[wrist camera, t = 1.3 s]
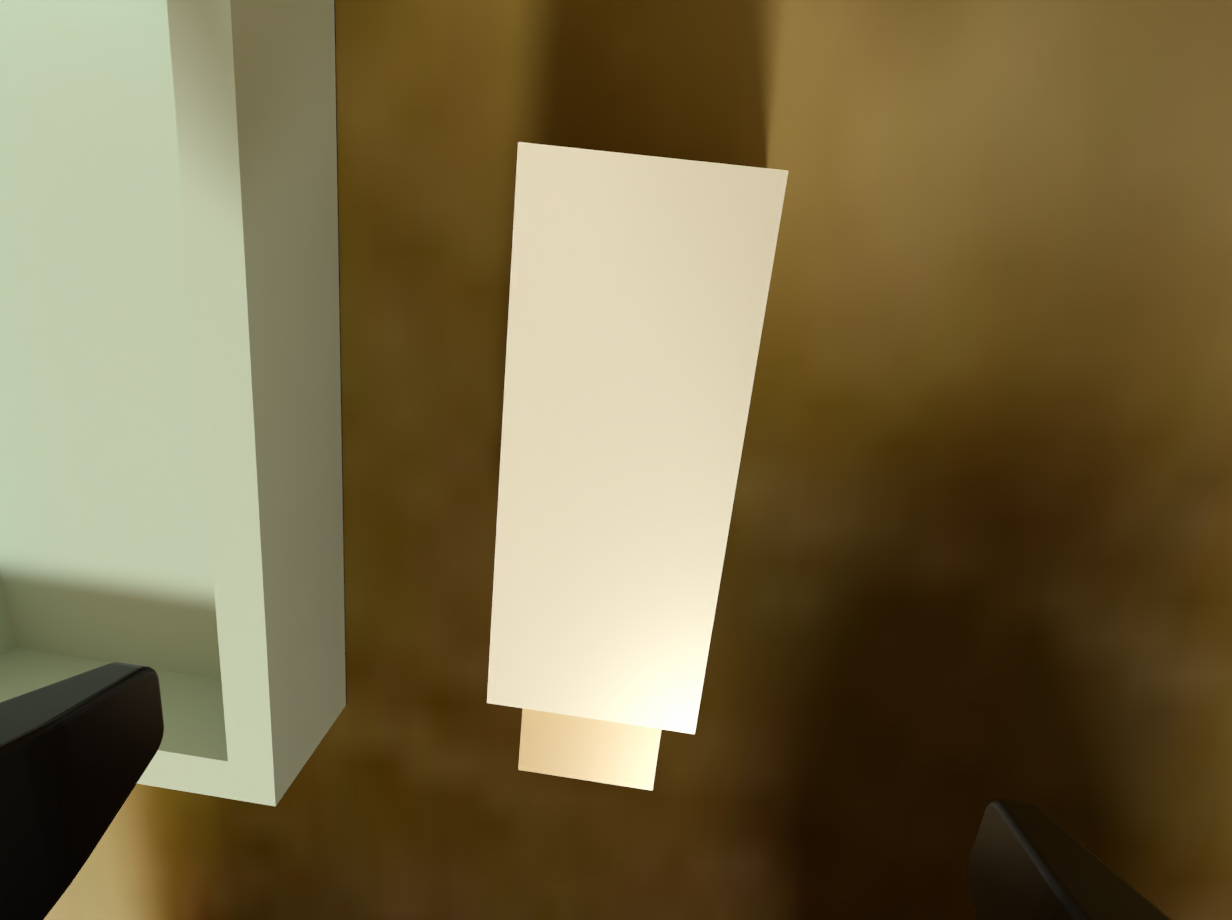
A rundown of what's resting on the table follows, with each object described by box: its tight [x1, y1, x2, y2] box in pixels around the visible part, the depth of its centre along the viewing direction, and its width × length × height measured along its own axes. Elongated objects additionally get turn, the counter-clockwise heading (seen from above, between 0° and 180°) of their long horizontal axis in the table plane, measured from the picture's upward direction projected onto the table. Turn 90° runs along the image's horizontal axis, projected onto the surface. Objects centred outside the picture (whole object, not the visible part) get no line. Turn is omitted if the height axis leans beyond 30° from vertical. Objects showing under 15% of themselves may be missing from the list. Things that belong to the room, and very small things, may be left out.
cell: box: [487, 142, 788, 791], centre depth 15 cm, size 4×12×4 cm, turn 174°
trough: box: [0, 0, 346, 806], centre depth 16 cm, size 9×17×4 cm, turn 174°
